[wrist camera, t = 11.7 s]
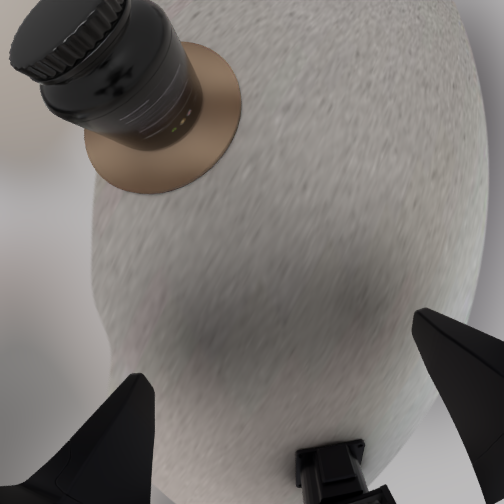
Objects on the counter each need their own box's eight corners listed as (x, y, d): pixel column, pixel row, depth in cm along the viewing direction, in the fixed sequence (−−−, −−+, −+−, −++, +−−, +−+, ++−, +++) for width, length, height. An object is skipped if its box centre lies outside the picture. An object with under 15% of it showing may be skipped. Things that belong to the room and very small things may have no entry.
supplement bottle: (98, 124, 17) (-22, 68, 5) (157, 54, 16) (82, -49, 4) (160, 173, 17) (25, 124, 5) (226, 94, 16) (182, -42, 4)
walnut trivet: (249, 181, 18) (249, 179, 17) (91, 206, 18) (85, 206, 18) (234, 34, 16) (233, 29, 15) (94, 71, 17) (90, 67, 16)
